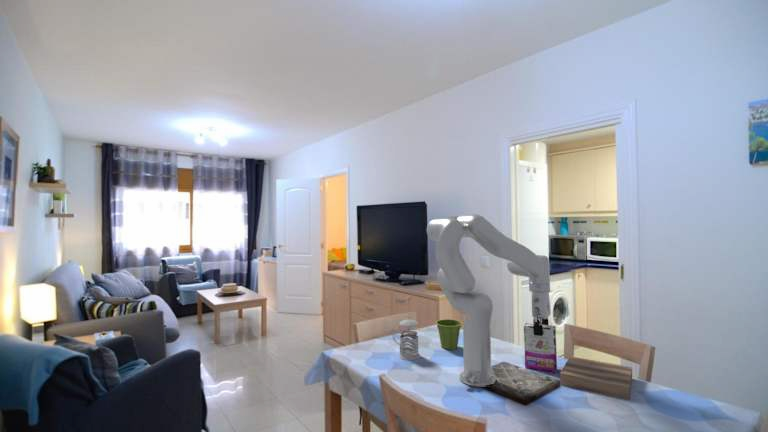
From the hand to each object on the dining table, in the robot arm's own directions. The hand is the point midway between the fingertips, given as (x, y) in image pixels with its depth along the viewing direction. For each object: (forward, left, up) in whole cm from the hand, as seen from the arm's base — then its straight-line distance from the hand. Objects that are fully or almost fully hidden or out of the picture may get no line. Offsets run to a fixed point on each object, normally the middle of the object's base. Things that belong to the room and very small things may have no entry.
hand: (541, 331), depth 144 cm
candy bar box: (-1, 0, -14) cm, 14 cm away
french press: (-18, +50, -14) cm, 55 cm away
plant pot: (+2, +40, -14) cm, 43 cm away
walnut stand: (-3, -19, -14) cm, 23 cm away
